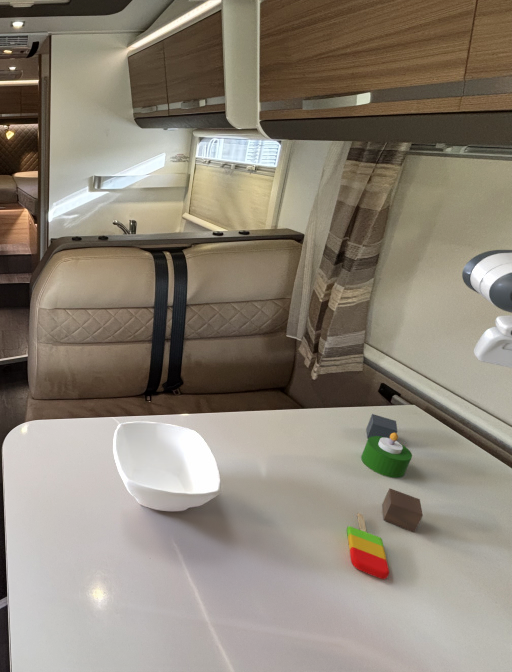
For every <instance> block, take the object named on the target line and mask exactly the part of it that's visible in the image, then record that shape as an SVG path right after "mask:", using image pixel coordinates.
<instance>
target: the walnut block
mask: <svg viewBox="0 0 512 672" xmlns="http://www.w3.org/2000/svg"><path fill="white" fill-rule="evenodd" d="M381 506H382V518H383V521H385V522H387V523H389V524H392V525H394V526H397V527H399V528H402V529H404V530H407V531H409V532H412V533H415V532H416V531H417V528H418V527H419V524H420V522H421V520H422V518H423V517H424V515H423V509H422V503H421V499H420V498H418V497H415V496H413V495H410V494H408V493H407V494H406V493H404V492H401V491H398V490H396V489H393V488H388V490H387V492H386V495H385V497H384V499H383V502H382V504H381Z"/></svg>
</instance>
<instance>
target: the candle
mask: <svg viewBox="0 0 512 672" xmlns="http://www.w3.org/2000/svg"><path fill="white" fill-rule="evenodd" d="M398 439H399V434H398V433H397V434H396V433H392V434H391V435H390V438H386V437H381V436H372V437H369V438H368V439H367V440H366V443H365V446H364V448H363V451H362V454H361V456H360V458H361V461H362V464H364V465H365V466H366V467H367V468H368V469H370V470H371V471H373V472H375V473H376V474H379V475H382V476H384V477H387V478H392V479H400V478H403V477H404V476H405V474H406V472H407V470H408V467H409V465H410V463H411V460H412V458H413V453H412V451H410V449H409V448H407V447H406V446H405V445H404V444H403V443H400V442H399V441H398Z"/></svg>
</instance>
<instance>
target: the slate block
mask: <svg viewBox="0 0 512 672" xmlns="http://www.w3.org/2000/svg"><path fill="white" fill-rule="evenodd" d="M392 433H396V434H397V435H398V426H397V420H394V419H391V418H387V417H384V416H381V415H378V414H375V413H371V415H370V418H369V420H368V424H367V426H366V439H367V440H368V438H369V437H372V436H381V437H386V438H390V435H391V434H392Z"/></svg>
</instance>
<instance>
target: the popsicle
mask: <svg viewBox="0 0 512 672" xmlns="http://www.w3.org/2000/svg"><path fill="white" fill-rule="evenodd" d="M357 521H358V527H359V529H358V528H356V527H353V526H350V525H348V526H347V528H346V535H347V541H348V549H349V556H350V562H351V564H352V565H353V567H354V568H356V569H357V570H359V571H361V572H362V573H366V574H368V575H371V576H373V577H376V578H378V579H381V580H385V579H387V578H388V577H389V575H390V569H389V564H388V560H387V556H386V552H385V547H384V541H383V538H382V537H380V536H378V535H375V534H373V533H370V532H367V528H366V523H365V518H364V515H363V514H362V513H360V512H358V513H357Z"/></svg>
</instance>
